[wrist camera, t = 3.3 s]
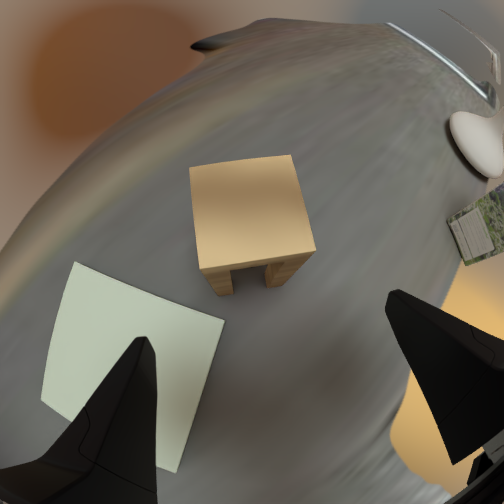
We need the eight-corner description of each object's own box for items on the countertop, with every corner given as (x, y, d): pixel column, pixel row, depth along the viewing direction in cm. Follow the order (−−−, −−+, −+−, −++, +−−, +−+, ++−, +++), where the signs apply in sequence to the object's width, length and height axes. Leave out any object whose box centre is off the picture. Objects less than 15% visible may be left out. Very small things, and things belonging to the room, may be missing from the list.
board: (225, 320, 20) (224, 320, 19) (178, 468, 17) (176, 473, 16) (80, 264, 21) (74, 261, 20) (46, 398, 17) (41, 399, 16)
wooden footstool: (282, 285, 21) (316, 250, 12) (218, 296, 21) (199, 268, 11) (270, 226, 23) (290, 155, 13) (209, 235, 22) (189, 167, 12)
